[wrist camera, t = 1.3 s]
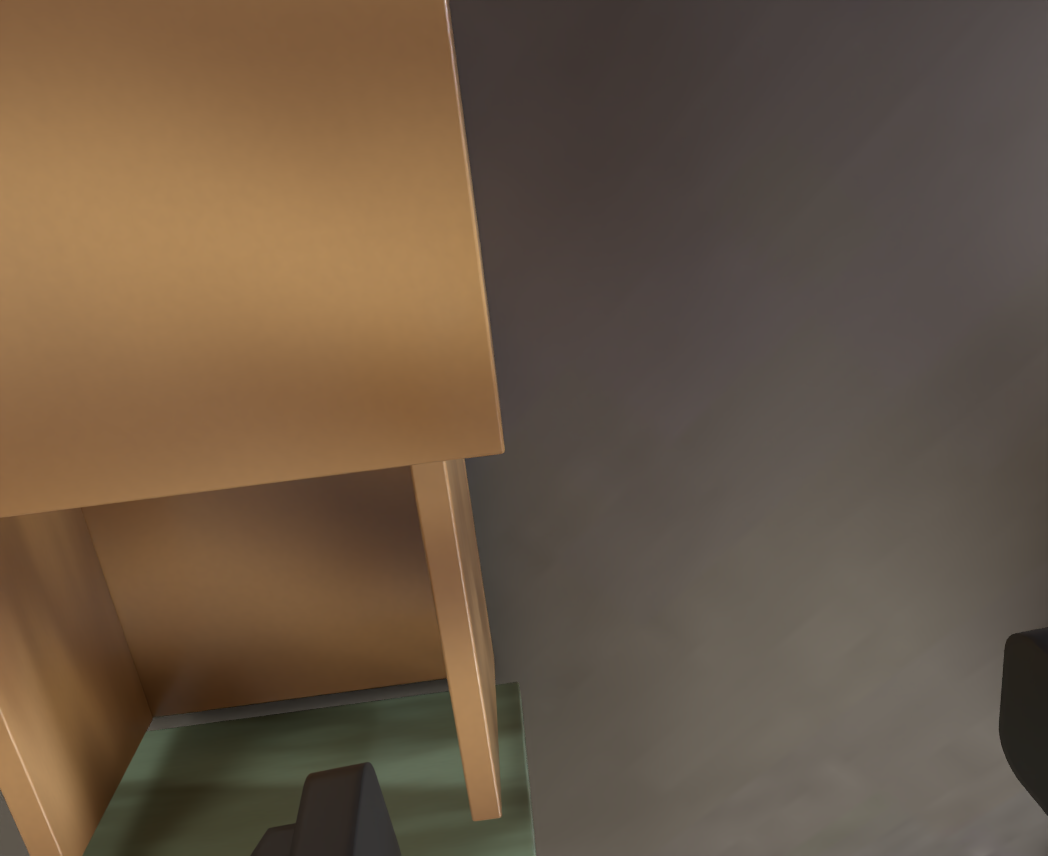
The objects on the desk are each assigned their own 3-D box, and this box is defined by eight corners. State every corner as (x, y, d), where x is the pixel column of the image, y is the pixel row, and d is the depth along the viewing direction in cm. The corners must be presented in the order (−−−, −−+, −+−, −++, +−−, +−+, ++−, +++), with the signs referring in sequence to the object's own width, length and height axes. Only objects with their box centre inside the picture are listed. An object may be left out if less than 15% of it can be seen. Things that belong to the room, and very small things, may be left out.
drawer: (526, 735, 30) (544, 922, 23) (150, 786, 29) (55, 991, 22) (457, 235, 23) (453, 287, 16) (-26, 294, 23) (-235, 372, 16)
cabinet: (492, 338, 25) (505, 454, 17) (10, 398, 25) (-227, 548, 16) (396, -411, 19) (337, -841, 10) (-256, -342, 18) (-872, -728, 10)
